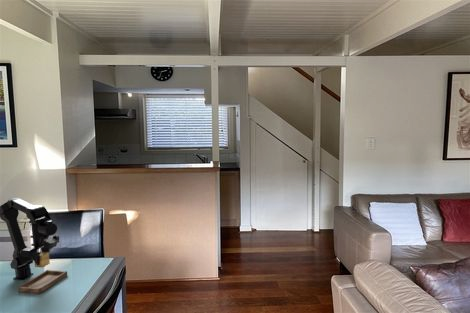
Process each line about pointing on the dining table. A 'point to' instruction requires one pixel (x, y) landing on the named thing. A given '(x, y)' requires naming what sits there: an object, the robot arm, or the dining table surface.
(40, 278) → the walnut tray
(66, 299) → the dining table surface
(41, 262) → the ochre block
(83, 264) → the dining table surface
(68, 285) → the dining table surface
